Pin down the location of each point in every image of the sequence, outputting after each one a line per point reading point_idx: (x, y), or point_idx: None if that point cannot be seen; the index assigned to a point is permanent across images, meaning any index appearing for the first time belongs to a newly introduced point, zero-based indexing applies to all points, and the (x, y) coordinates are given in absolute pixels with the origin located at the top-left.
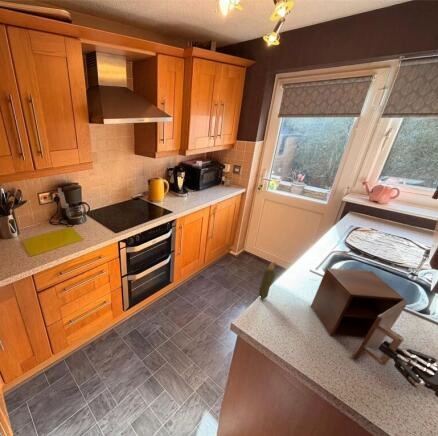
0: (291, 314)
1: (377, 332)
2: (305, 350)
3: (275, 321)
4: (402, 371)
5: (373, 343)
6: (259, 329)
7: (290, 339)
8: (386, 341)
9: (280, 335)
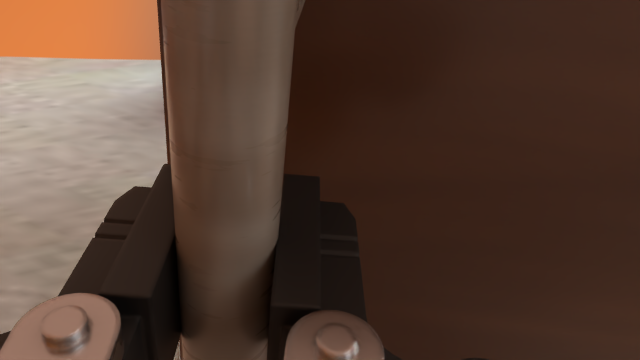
0: None
1: (329, 87)
2: (13, 202)
3: (127, 104)
4: None
5: (406, 317)
6: (7, 89)
7: (47, 153)
8: (306, 178)
9: (39, 129)
